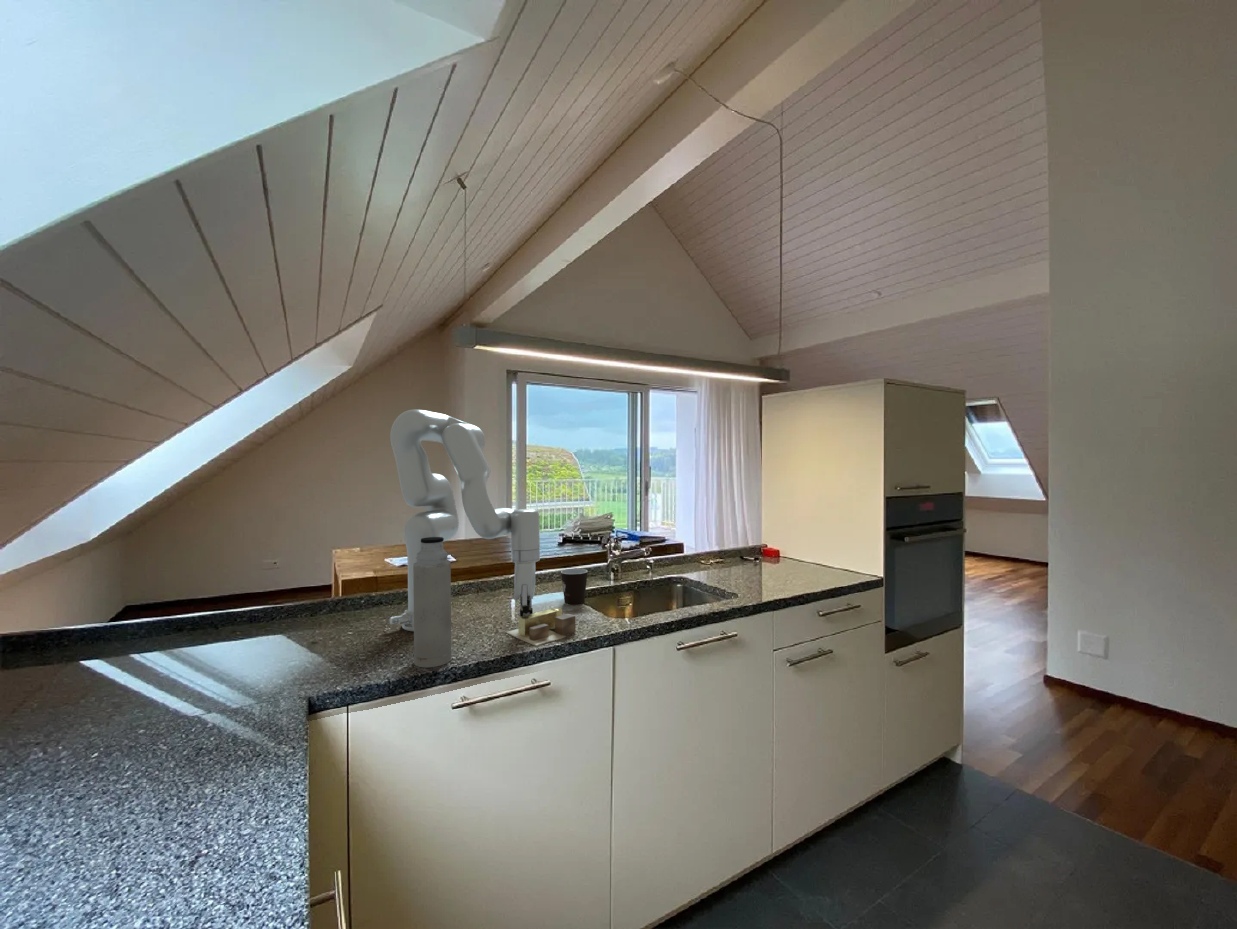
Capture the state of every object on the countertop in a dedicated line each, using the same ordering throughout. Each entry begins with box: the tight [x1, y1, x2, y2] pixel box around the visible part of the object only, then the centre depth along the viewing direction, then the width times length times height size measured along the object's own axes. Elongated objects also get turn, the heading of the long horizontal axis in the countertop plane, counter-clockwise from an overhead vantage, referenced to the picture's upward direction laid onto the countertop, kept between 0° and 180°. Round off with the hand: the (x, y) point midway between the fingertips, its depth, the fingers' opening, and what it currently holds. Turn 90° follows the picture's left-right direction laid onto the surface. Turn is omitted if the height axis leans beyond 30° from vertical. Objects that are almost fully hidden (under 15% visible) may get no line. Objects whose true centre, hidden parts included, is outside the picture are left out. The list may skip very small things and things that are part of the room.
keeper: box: [529, 624, 549, 641], centre depth 129 cm, size 5×2×3 cm, turn 134°
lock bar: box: [517, 607, 563, 636], centre depth 135 cm, size 13×3×5 cm, turn 134°
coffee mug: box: [560, 568, 588, 606], centre depth 166 cm, size 12×9×10 cm
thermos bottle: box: [413, 537, 452, 669], centre depth 115 cm, size 8×8×28 cm
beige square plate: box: [505, 628, 567, 647], centre depth 134 cm, size 14×14×1 cm
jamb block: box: [554, 613, 576, 637], centre depth 134 cm, size 4×3×4 cm
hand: (526, 623), depth 136 cm, fingers closed
